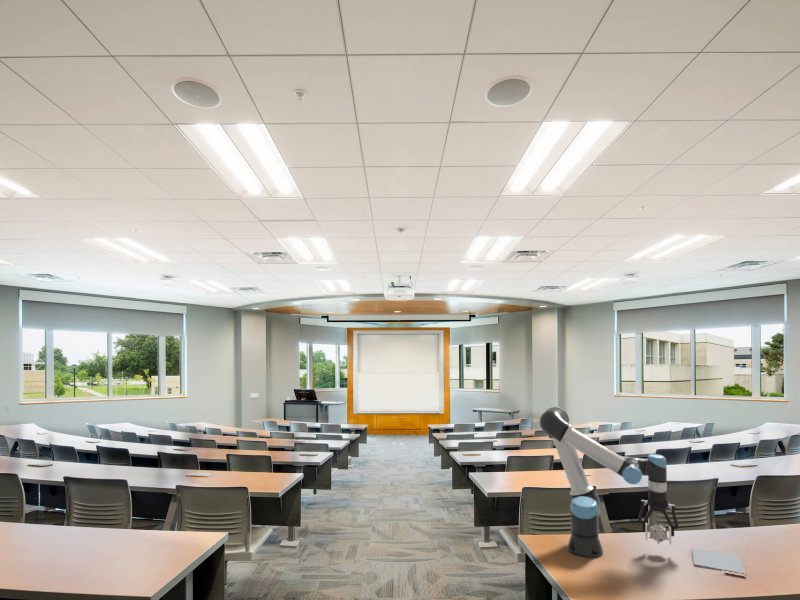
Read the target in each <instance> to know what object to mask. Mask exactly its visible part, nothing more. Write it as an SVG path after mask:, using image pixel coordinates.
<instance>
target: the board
mask: <svg viewBox="0 0 800 600" xmlns="http://www.w3.org/2000/svg"><path fill="white" fill-rule="evenodd" d="M691 557H692V561H693V562H694V563H693V566H694V567H696V566H698V567H697V568H703V567H706V568H705V569H709V568H712V569H711V570H715V569H717V570H716V571H721V570H724V571H729V572H735V573H741V574H745V575H746V571H745V568H744V566H743V563H742V560H741V557H740V555H737V554H732V553H727V552H723V551H717V550H715V551H714V550H709V549H703V548H698V547H691Z"/></svg>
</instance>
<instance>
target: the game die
mask: <svg viewBox="0 0 800 600" xmlns="http://www.w3.org/2000/svg"><path fill="white" fill-rule="evenodd" d="M647 528H648V531H649V539H653V540H654V541H656V542H657V544H658V545H659V544H660V543H662V542H663V541H666V540H668V541H669V537H668V531H667V529H668V527H665V526H663V525H662V524H660V523H659V521H657V523H655V524H653V525H650V526H649V525H647Z"/></svg>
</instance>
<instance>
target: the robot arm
mask: <svg viewBox="0 0 800 600" xmlns="http://www.w3.org/2000/svg"><path fill="white" fill-rule="evenodd" d="M539 426H540V428H541V430H542V431H543V433H545V434H546V435H547V436H548V439H549V440H551V441H553V444H554V446H555V449H556V450H557V454H558V456H559V459H560V462H561V465H562V467H563V471H564V473H565V476H566V478H567V481H568V483H569V486H570V492H569V495H570V498H571V500H570V506H569V508H570V531H571V533H570V536H569V539H568V543H567V551H568V553H569V554H571V555H574V556H576V557H580V558H587V559H596V558H601V557H602V556H603V555H604V550H603V547H602V545H601V540H600V538H599V518H600V514H601V511H602V502H601V498H600V497H599V495H598V494H597V493H596V491H595V487H594V486H593V485H591V484H589V481H588V479H587V476H586V472H585V471H584V468H583V466H582V462H581V460H580V458H579V455H578V452H581V453H582V454H583V455H585V456H587V457H588V458H590V459H592V460H593V461H595V462H597V463H598V464H600V465H602V466H604V467H605V468H607V469H608V470H611V471H612V472H614V473H615V474H616V475H619V476H620V477H622V478H623V480H624V481H625V482H626V483H627V484H629V485H637V484H639V483H640V481H641V480H642V478H643V477H644V476H647V483H648V490H647V491H648V493H647V494H648V499H647V500H645V499H641V500H640V505H641V506H640V510H639V514H638V518H637V522H638V523H641V524H642V531H643V532H645V533H644V534H645V535H644V536H645V540H646V541H648V523H647V522H648V520H649V518H650V517H651V515H652V513H654V512H659V513H662V514H663V516H664V518H665V519H666V521H667V523H668V525H669V527H668V528H669V529H668V530H669V531H668V532H669V533H668V535H669V536H668V539H669V540H668V541H669V545H672V537H675V529H680V528H679V527H680V526H679V522H678V518H677V515H676V511H675V510H676V509H675V508H676V505H675V504H674V503H673V504H671V503H668V492H667V491H668V485H667V484H668V483H667V482H668V481H667V480H668V479H667V477H668V475H667V470H668V469H667V459H666V457H665V456H664V455H661V454H654V453H653V454H652V453H651V454H648V455H647V458H641V457H633V456H629V455H627V456H622V455H619V454H617V453H616V452H614V451H612V450H611V449H609V448H607V447H606V446H604V445H602V444H601V443H599V442H597V441H596V440H594V439H592V438H591V437H588V436H586V435H585V434H583V433H582V432H580V431H578V430H577V429H575V428H573V426H572V424H570V418H569V415H568V412H567V411H566V410H564V409H563V408H561V407H559V406H553V407H550V408H548V409H546V410H545V411H544V412H543V413H542V414H541V416H540V418H539ZM577 451H578V452H577ZM647 504H648V506H649V508H648V510H647V512H646V515H645V516H644V517H643V515H644V511H645V506H647ZM667 508H669V510H671V515H672V518H673V522H674V524H673V522H672V520H671V518H670V516H669V514H668V513H667Z"/></svg>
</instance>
